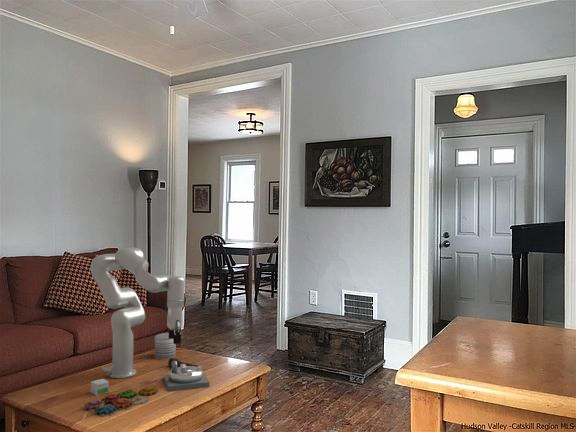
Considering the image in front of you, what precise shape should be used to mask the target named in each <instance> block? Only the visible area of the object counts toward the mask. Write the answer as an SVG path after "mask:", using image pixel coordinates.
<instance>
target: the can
mask: <svg viewBox="0 0 576 432" xmlns="http://www.w3.org/2000/svg"><path fill="white" fill-rule="evenodd" d="M176 345H177V344H174V343H173V339H169V332H166V333H165V332H164V333H159V334H157V335H155V336H154V358H155V359H157V360H169V359H170V358H175V357H176V356H177V355H176V353H177V352H176V351H177V349H176V348H177V347H176Z"/></svg>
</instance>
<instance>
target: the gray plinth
mask: <svg viewBox="0 0 576 432" xmlns="http://www.w3.org/2000/svg"><path fill="white" fill-rule="evenodd" d="M163 380H164V383H165V385H166V386H165V387H166V388H167V391H168V392H173V391H180V390H191V389H198V388H200V389H201V388H207V387H208V388H209V387H210V381H209V380H208V378H207V375H205V373H204V372H203V377H202V379H200V380H198V381H195V382H190V383H176V382H173V381H171V380H170V379H169V372H166V373H163Z"/></svg>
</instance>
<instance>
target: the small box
mask: <svg viewBox="0 0 576 432" xmlns="http://www.w3.org/2000/svg"><path fill="white" fill-rule="evenodd" d="M109 387H110V382H109V380H107V379H105V378H100V379H96V380H91V381H90V393H91V394H93V395H94V396H101V395H104V394H106V393H108V394H109V390H110V388H109Z"/></svg>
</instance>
